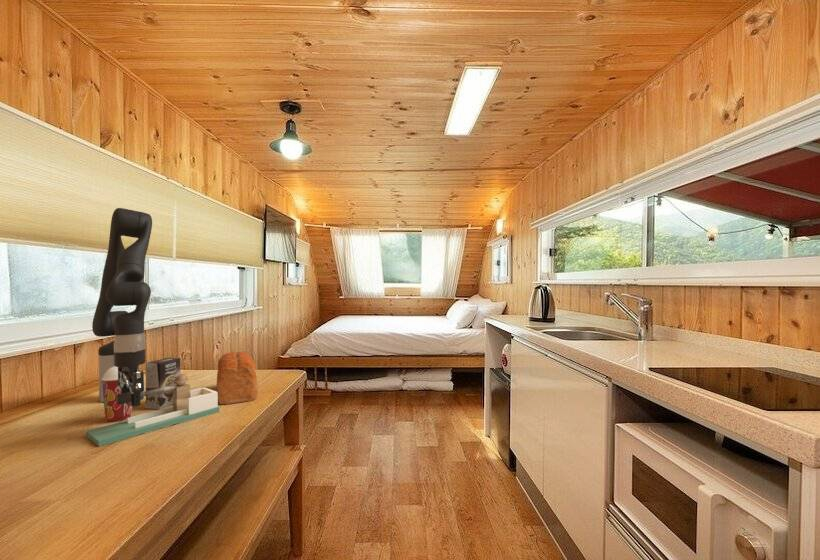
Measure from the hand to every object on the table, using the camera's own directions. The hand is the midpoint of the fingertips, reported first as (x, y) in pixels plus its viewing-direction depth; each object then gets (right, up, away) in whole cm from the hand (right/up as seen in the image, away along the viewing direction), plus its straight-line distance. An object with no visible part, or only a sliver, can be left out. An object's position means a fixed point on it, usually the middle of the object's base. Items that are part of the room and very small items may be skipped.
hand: (130, 403), depth 110 cm
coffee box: (-5, -8, +23) cm, 25 cm away
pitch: (+4, -8, +6) cm, 11 cm away
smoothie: (-11, -8, +10) cm, 17 cm away
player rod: (+4, -6, +5) cm, 9 cm away
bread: (+15, -8, +35) cm, 39 cm away
